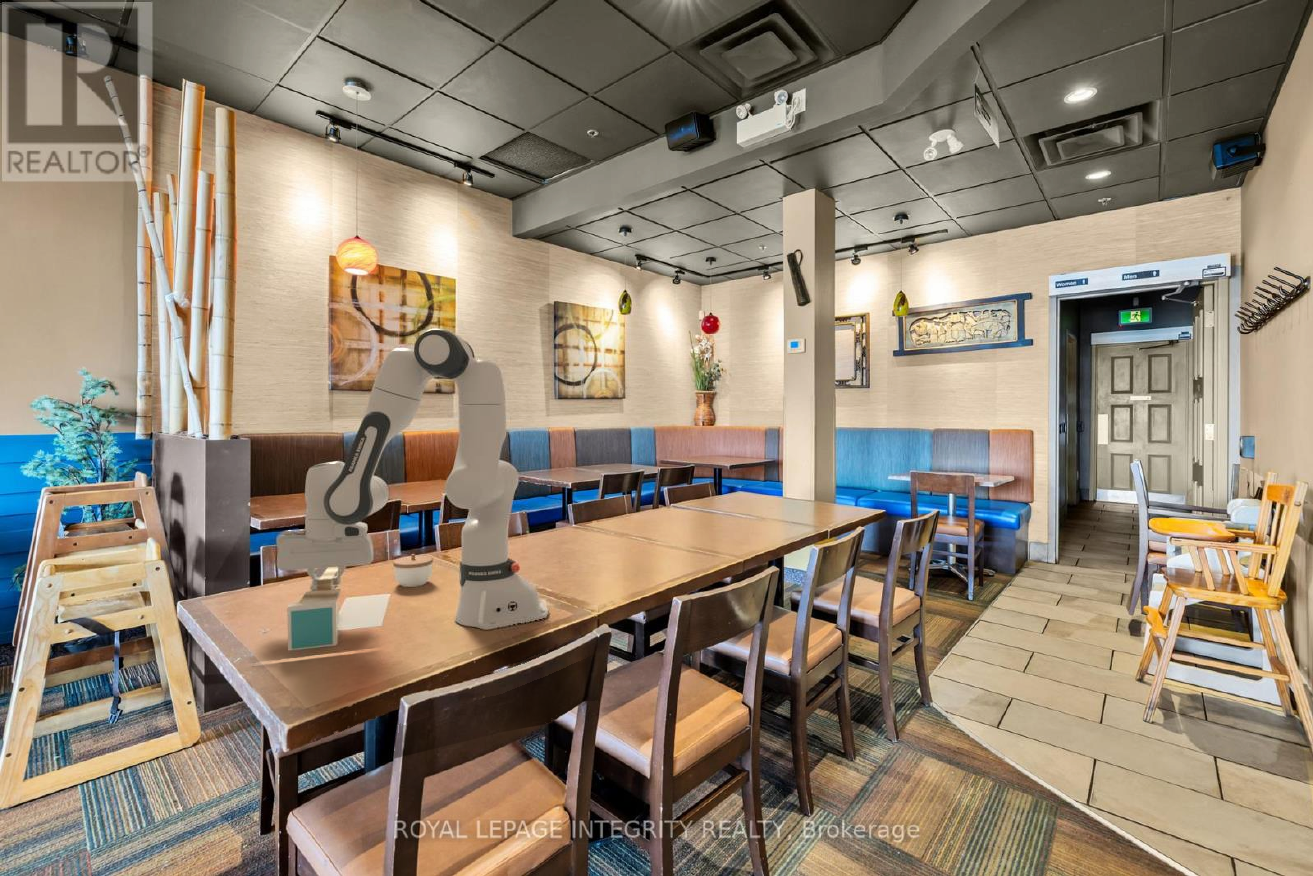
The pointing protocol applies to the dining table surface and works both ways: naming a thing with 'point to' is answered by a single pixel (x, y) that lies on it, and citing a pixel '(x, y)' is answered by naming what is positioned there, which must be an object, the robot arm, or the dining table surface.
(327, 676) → the dining table surface
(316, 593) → the turner
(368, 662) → the dining table surface
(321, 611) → the rectangular block
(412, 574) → the lidded jar
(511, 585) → the robot arm
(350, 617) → the mat
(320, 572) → the flask
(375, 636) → the dining table surface
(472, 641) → the dining table surface
